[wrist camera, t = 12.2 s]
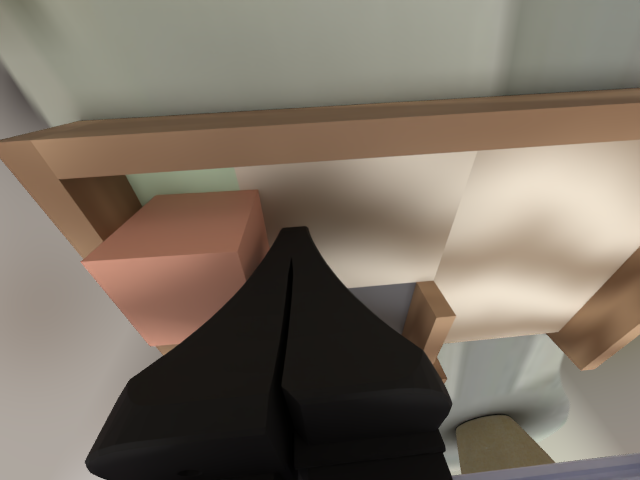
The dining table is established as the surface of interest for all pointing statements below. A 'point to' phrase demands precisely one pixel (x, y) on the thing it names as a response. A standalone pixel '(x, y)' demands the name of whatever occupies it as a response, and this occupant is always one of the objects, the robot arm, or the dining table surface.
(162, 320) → the coral block
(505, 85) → the dining table surface
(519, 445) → the plant pot
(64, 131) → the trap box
